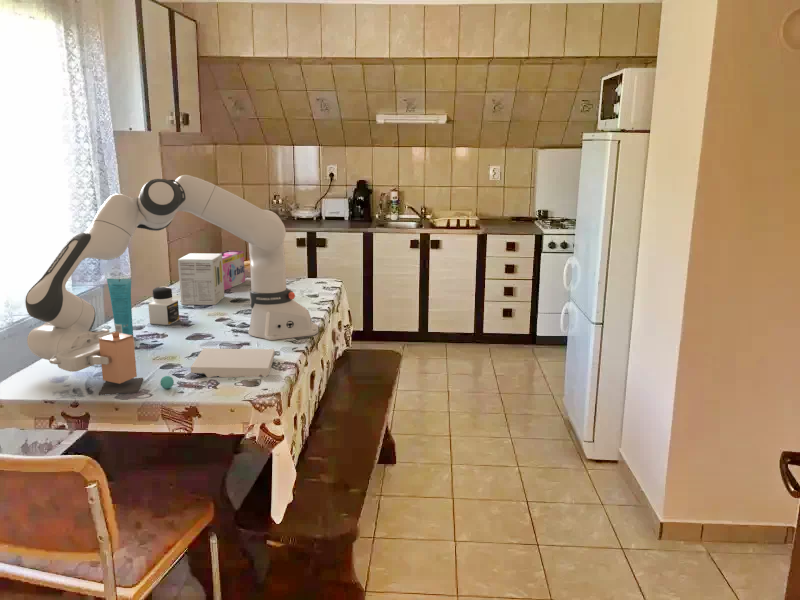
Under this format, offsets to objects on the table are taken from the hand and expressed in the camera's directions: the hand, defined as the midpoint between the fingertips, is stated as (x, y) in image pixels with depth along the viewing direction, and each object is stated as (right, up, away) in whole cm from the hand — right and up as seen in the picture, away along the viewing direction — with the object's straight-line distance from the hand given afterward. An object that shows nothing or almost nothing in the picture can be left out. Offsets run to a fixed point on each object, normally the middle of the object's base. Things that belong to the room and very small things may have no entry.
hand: (120, 356), depth 165 cm
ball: (+11, -8, +2) cm, 14 cm away
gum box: (-4, +20, +113) cm, 115 cm away
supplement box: (-6, +14, +89) cm, 90 cm away
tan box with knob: (-1, -6, +2) cm, 6 cm away
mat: (-1, -8, +2) cm, 8 cm away
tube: (-17, +2, +42) cm, 45 cm away
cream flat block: (+24, -5, +17) cm, 30 cm away
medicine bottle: (-10, +6, +60) cm, 62 cm away
